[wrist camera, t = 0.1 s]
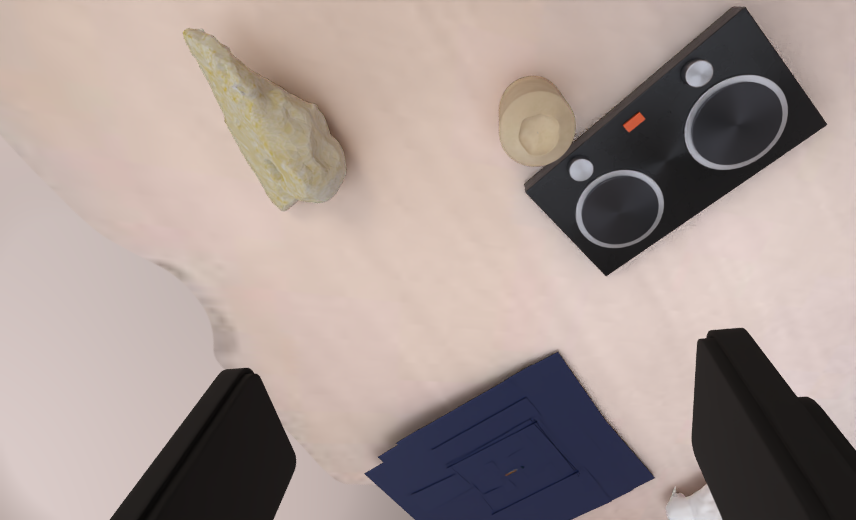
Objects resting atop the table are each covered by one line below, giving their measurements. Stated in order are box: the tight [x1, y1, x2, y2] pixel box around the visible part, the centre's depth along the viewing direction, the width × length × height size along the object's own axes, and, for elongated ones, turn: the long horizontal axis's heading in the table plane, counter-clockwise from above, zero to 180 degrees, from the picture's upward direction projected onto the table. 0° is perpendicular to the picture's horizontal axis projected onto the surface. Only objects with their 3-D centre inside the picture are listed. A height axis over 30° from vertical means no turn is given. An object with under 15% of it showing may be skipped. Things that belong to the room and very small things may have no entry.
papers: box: [364, 352, 655, 520], centre depth 63 cm, size 24×30×4 cm
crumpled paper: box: [665, 483, 722, 520], centre depth 58 cm, size 6×8×12 cm
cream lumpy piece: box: [183, 28, 347, 211], centre depth 44 cm, size 15×7×15 cm
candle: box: [499, 76, 576, 167], centre depth 39 cm, size 6×6×10 cm
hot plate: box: [524, 7, 827, 276], centre depth 42 cm, size 12×21×3 cm, turn 136°
